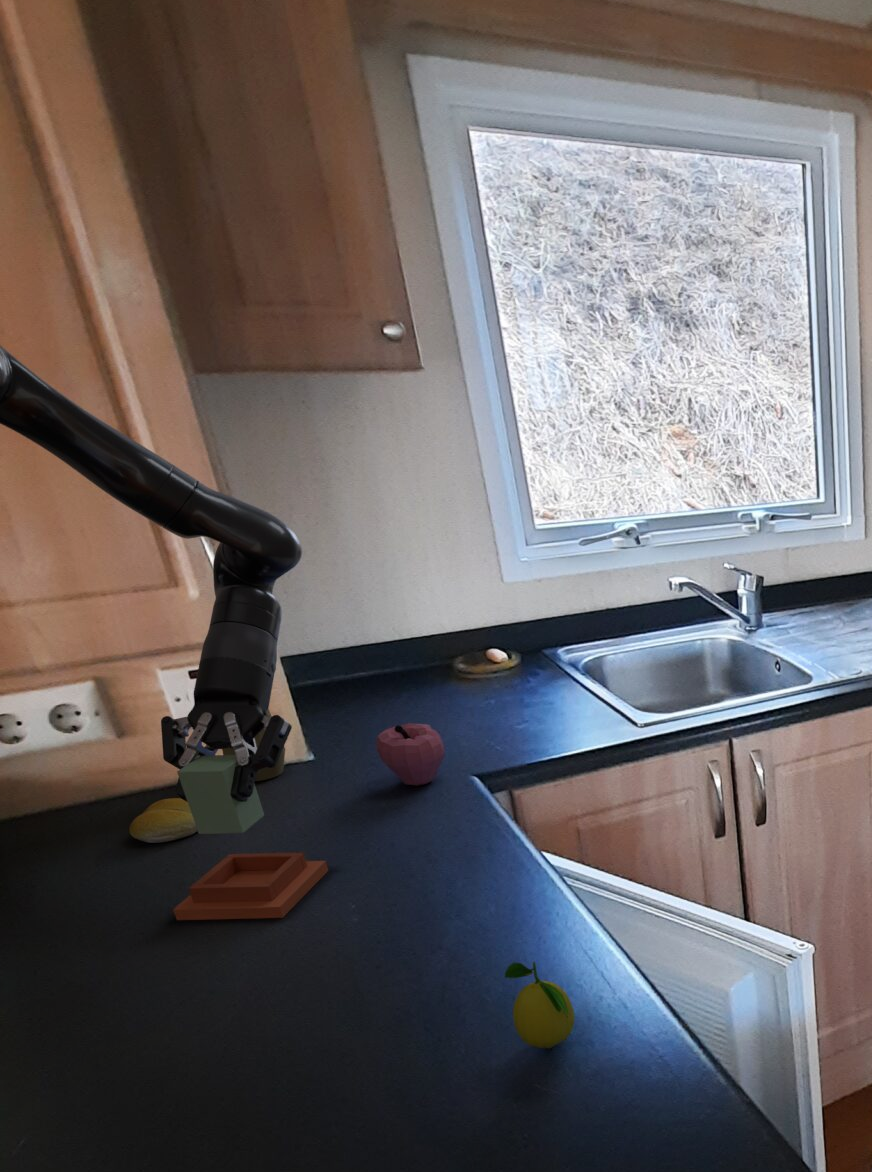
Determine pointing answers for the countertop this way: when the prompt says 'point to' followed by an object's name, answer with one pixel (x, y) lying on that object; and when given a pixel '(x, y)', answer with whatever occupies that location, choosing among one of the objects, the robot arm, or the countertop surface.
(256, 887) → the base pad
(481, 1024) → the countertop surface
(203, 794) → the sage pad block
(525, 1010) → the lemon
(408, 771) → the apple
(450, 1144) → the countertop surface
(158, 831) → the bread roll
